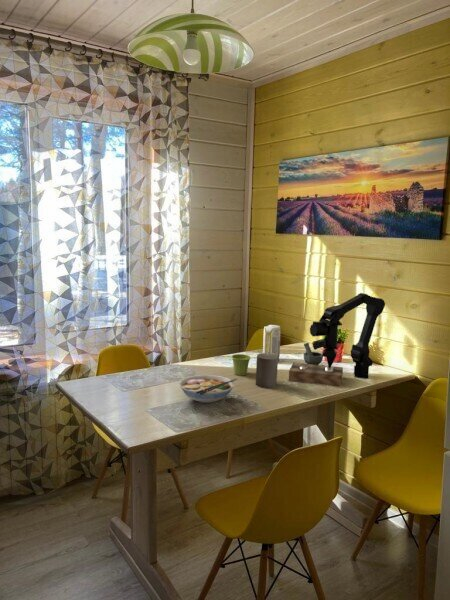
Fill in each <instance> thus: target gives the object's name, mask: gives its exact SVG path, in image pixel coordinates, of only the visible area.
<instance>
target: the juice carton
mask: <svg viewBox="0 0 450 600" xmlns="http://www.w3.org/2000/svg"><path fill="white" fill-rule="evenodd" d="M281 332H282V331H281V326H280V325H277V324H268V325H266V326H264V327H263V338H262V340H263V341H262V353H271V354H275V355H277V356H278V361H279V360H280V354H281V353H280V352H281Z"/></svg>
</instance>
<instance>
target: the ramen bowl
mask: <svg viewBox="0 0 450 600" xmlns="http://www.w3.org/2000/svg"><path fill="white" fill-rule="evenodd" d="M237 380H238V378H234V379H230V378H228V377H226V376H220V375H215V374H213V375H212V374H200V375H199V374H198V375H197V374H196V375H191V376H186V377H184V378H182V379H180V381H179V383H178V384H179V387H180V389H181V390H182V392H183V393H184V394H185V396H187V397H188V398H189V399H191V400H193V401H196V402H199V403H202V404H212V403H215V402H217V401H221V400H223V399H224V398H225V397H227V396H228V395H229V394H230V393H231V392H232V390H233V388H234V385H235V382H234V381H237Z"/></svg>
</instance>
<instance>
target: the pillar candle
mask: <svg viewBox="0 0 450 600" xmlns="http://www.w3.org/2000/svg"><path fill="white" fill-rule="evenodd" d="M256 355H257V356H256V369H255V371H256V372H255V386H257V387H259V388H261V389H262V388H264V389H271V388H276V386H277V384H278V383H277V381H278V380H277V379H278V364H279V363H278V362H279V360H278V356H277V355H275V354H271V353H263V352H261V353H258V354H256Z"/></svg>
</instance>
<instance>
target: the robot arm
mask: <svg viewBox="0 0 450 600" xmlns="http://www.w3.org/2000/svg"><path fill="white" fill-rule="evenodd" d="M363 304H364V305H365V310H366V316H365V319H364V322H363V326H362V329H361V333H360V336H359V339H358V341H357V343H356V344H352V346H351V349H350V351H349V353H350V357H351V359H352V362H353V363H355V365H354V366H353V376H354V378H361V379H369V377H370V376H369V374H370V373H369V372H370V367H372V365H373V364H374V361H373V360H372V359H371V358H370V347H369V345H370V342H371V338H372V335H373V331H374V329H375V326H376V322H377V320H378V317H379V316H380V315H381V314H382V313H383V311H384V308H385V307H386V302H385V300H384V299H383V298H380V297H376V296H371V295H368V294H367V293H363V292H360V293H358V294H357V295H355V296H353V297H351V298H350V299H347V300H346V301H344V302H342V303H340V304H338V305H332V306H329V307H326V308H325V310H324V312H323V314H322V316H321V317H320V318H319V320H318V321H316V320H315V321H312V324H311V325H310V327H309V332H310V333H309V334H310V335H311V336H312V337H323V338H322V339H316V340H314V341H312V344H311V345H312V347H313V350H315V351H316V350H318V349H321V348H323V350H322V353H321V354H322V356H323V358H324V357H325V358H326V362H327V366H328V367H331V366H333V364H334V361H335V360H336V358H337V356H338V355H337V354H338V351H337V350H338V349H339V343H338V338H339V337H338V336H339V335H338V334H339V326H343V323H342V322H341V321H340V320H341V319H343V318H344V317H345V314H347V313H348V312H350V311H352V310H354V309H355V308H358V307H360V306H361V305H363Z"/></svg>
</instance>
